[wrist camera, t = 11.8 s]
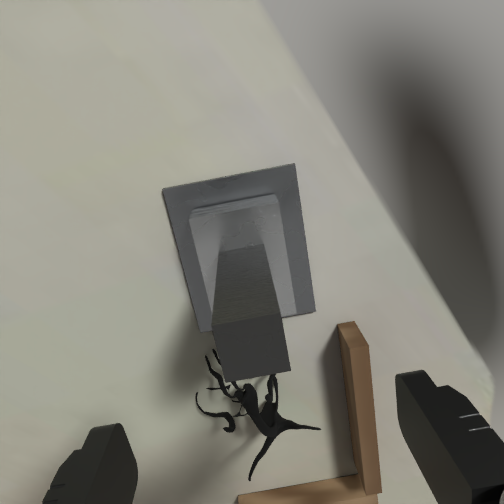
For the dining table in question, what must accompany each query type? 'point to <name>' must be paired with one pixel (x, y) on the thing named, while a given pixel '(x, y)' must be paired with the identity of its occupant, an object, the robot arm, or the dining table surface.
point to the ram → (246, 284)
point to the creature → (255, 411)
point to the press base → (232, 190)
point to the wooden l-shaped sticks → (362, 436)
